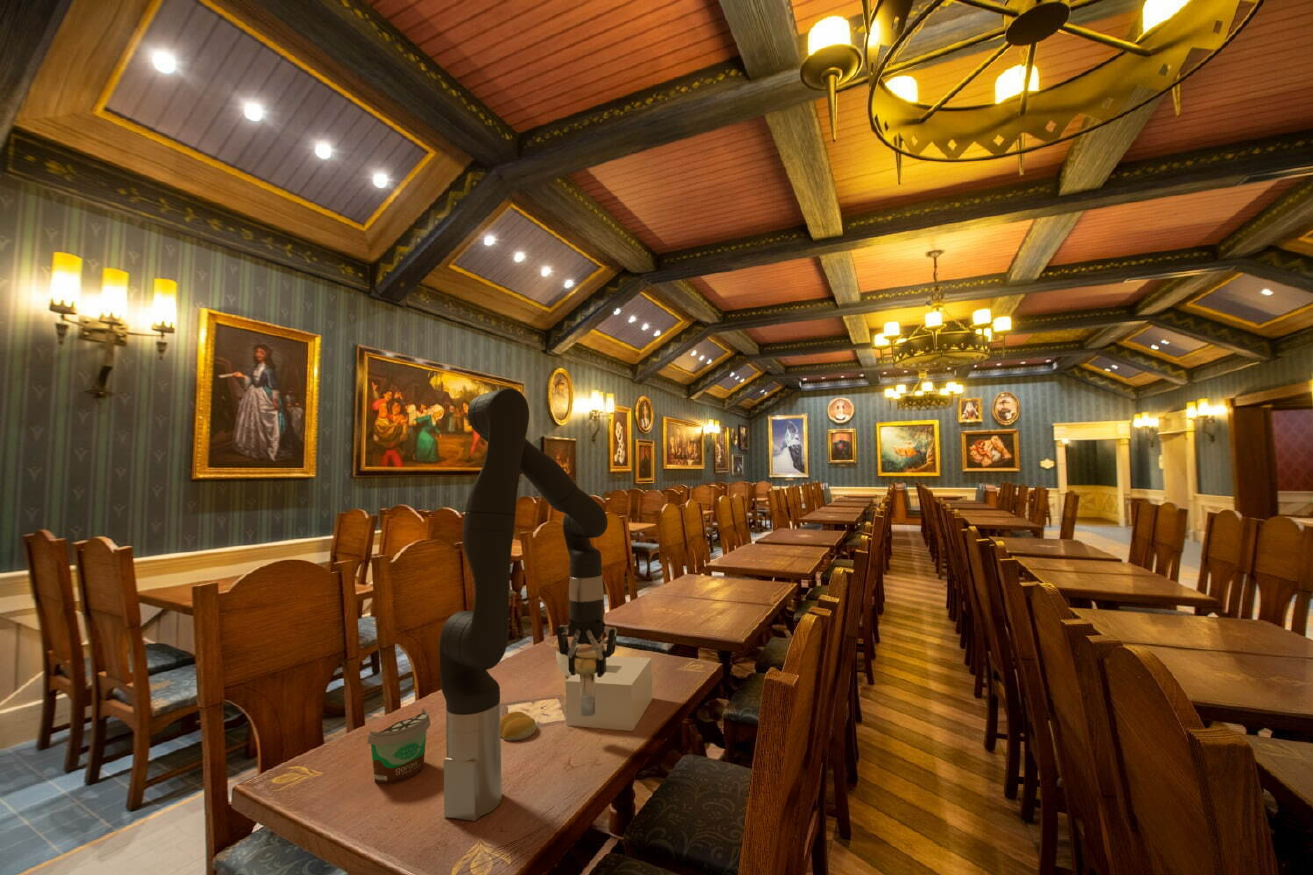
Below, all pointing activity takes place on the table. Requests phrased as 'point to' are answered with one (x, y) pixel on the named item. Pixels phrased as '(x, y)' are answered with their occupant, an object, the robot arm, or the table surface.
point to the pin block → (614, 695)
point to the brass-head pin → (586, 681)
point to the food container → (399, 749)
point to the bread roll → (517, 726)
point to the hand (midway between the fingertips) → (587, 674)
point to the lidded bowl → (563, 659)
